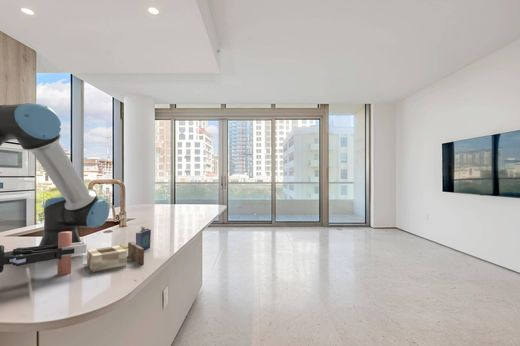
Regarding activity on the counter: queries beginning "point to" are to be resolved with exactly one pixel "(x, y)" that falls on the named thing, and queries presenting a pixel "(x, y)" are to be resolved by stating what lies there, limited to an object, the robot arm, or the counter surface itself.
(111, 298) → the counter surface
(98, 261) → the socket block
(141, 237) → the flask
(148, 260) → the counter surface
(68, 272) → the dowel
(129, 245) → the grey fixture base
